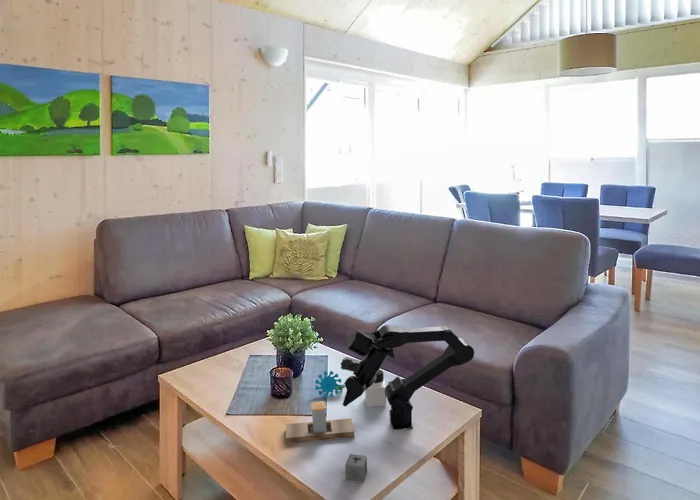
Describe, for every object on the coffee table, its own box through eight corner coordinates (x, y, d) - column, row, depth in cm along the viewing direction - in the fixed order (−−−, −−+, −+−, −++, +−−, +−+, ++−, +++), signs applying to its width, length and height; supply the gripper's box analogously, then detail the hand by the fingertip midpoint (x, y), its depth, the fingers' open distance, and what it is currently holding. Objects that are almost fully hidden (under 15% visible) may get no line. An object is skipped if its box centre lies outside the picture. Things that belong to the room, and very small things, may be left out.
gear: (311, 393, 192) (318, 367, 197) (314, 398, 197) (321, 372, 202) (340, 400, 190) (347, 373, 195) (342, 404, 195) (349, 378, 200)
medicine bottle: (386, 406, 185) (385, 375, 182) (365, 407, 185) (364, 375, 182) (385, 396, 192) (384, 366, 189) (365, 397, 192) (364, 366, 189)
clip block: (325, 429, 172) (324, 401, 170) (327, 436, 168) (326, 408, 166) (312, 430, 171) (310, 402, 169) (313, 438, 167) (312, 409, 165)
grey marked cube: (367, 471, 150) (366, 455, 149) (363, 482, 145) (362, 466, 144) (350, 469, 151) (349, 453, 150) (345, 480, 147) (345, 464, 145)
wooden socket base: (351, 423, 175) (351, 418, 174) (354, 437, 167) (354, 431, 166) (286, 429, 172) (286, 424, 172) (286, 443, 165) (285, 438, 164)
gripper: (359, 343, 178) (336, 380, 180) (344, 352, 160) (318, 394, 162) (387, 362, 176) (363, 400, 178) (374, 373, 158) (347, 415, 160)
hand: (347, 401), depth 169 cm, fingers open, 9 cm apart
